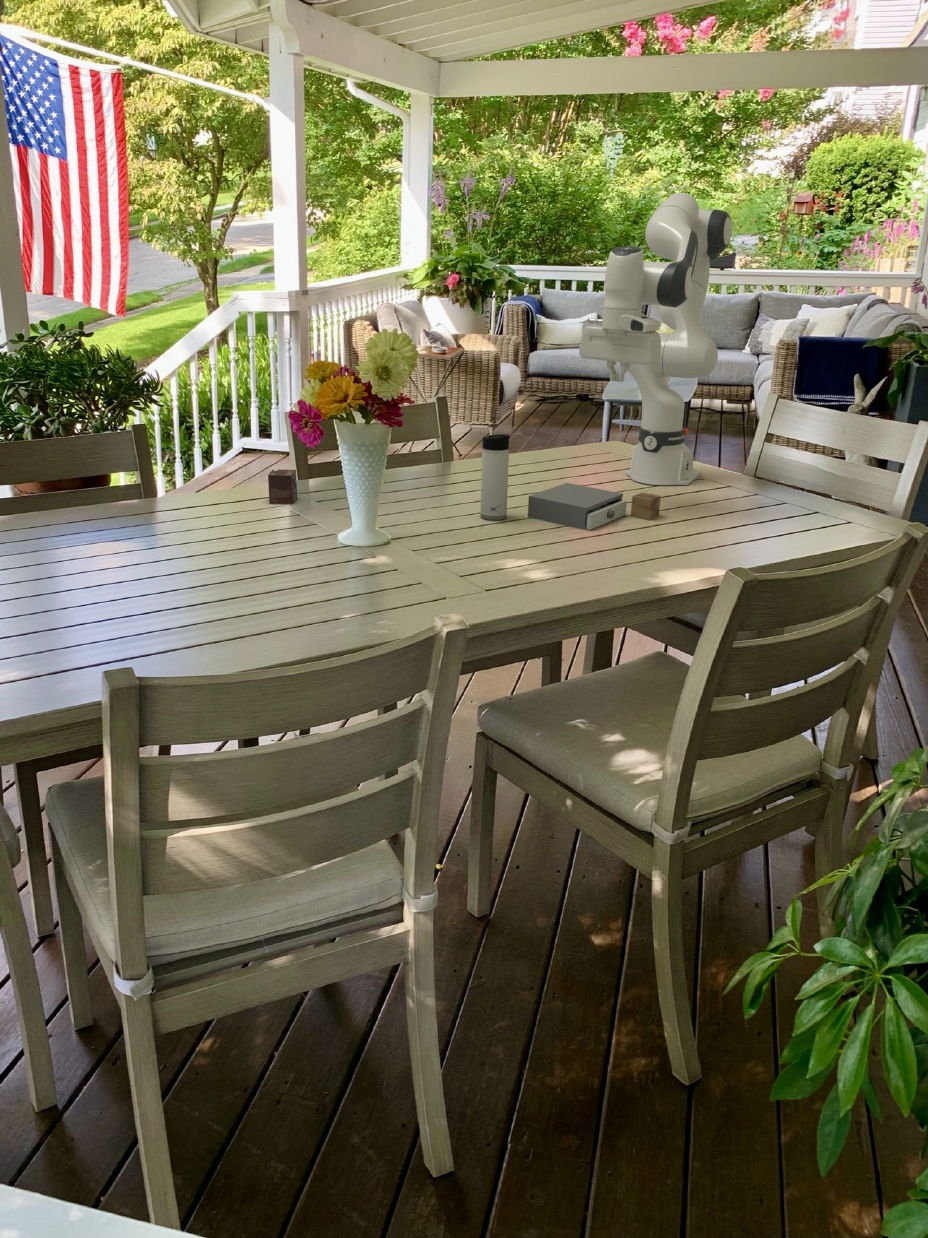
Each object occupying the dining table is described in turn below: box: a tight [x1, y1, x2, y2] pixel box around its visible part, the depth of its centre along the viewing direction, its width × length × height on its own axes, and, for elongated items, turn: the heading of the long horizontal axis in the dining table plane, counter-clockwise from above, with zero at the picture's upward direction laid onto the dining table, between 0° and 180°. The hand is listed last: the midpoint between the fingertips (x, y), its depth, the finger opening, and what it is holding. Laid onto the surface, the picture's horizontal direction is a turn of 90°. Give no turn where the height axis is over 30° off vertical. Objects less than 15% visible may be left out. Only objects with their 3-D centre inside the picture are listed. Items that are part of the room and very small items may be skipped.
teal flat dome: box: [588, 506, 601, 513], centre depth 242 cm, size 6×6×2 cm
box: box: [267, 469, 298, 505], centre depth 251 cm, size 6×6×7 cm
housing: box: [527, 482, 624, 530], centre depth 244 cm, size 17×16×5 cm
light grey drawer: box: [586, 499, 628, 531], centre depth 244 cm, size 17×17×4 cm
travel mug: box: [479, 433, 511, 521], centre depth 239 cm, size 6×7×20 cm
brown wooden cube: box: [630, 492, 662, 521], centre depth 245 cm, size 5×5×5 cm
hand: (616, 381), depth 242 cm, fingers closed
